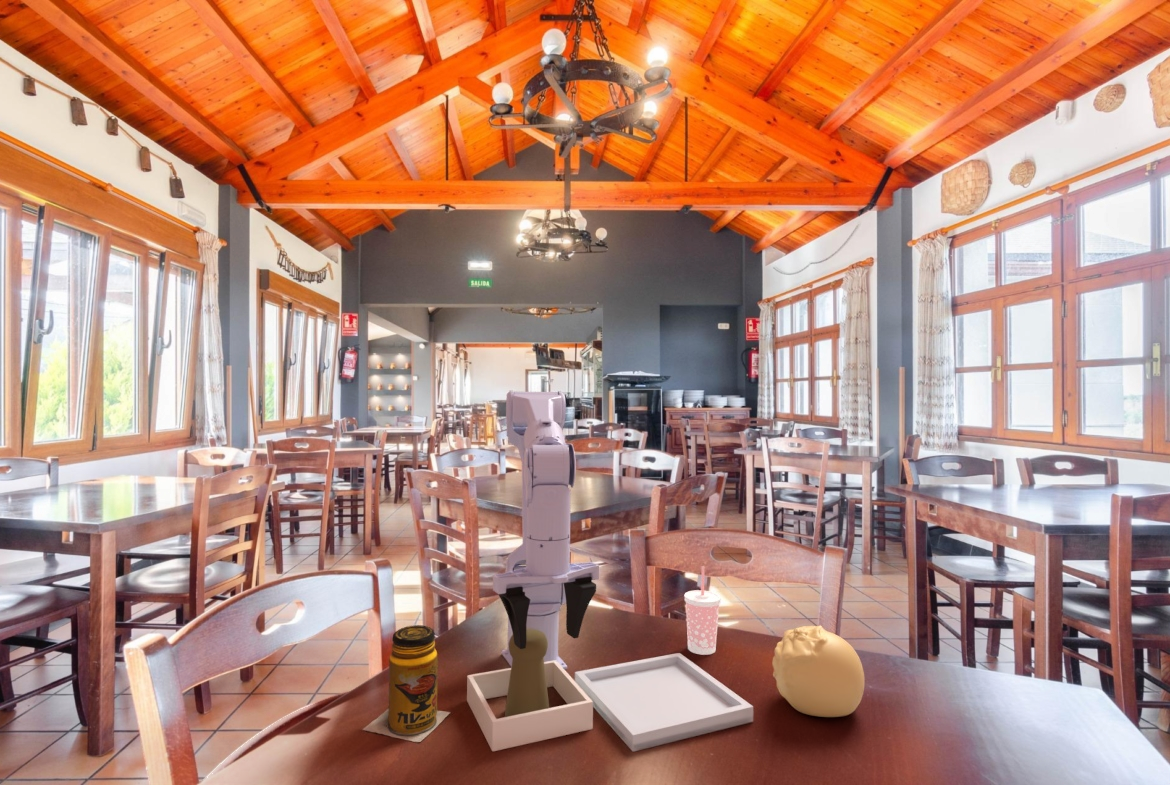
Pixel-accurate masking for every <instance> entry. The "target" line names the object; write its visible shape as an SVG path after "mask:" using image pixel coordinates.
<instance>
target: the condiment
mask: <svg viewBox="0 0 1170 785" xmlns="http://www.w3.org/2000/svg"><path fill="white" fill-rule="evenodd" d="M435 634H436V633H435V632H434V629H433V628H431V627H430V626H427V625H421V624H420V625H419V624H416V625H415V624H414V625H407V626H405V627H402V628H399V629H397V630H396V631H395V632H394V633H393V634H392V639H391V640H392V646H391V650H392V652H391V653H390V655H389V660H388V663H389V664H388V666H389V667H388V702H387V703H388V708H387V709H386V710H385V711H384V712H382V713H381V714H380V715H379V716H378V717H377V718H376V719H373V720H372V721H371V722H370V723H369V724H368V725H366V726H365V727H363V728H362V731H365V732H366V731H367V732H370V733H377V734H379V735H384V736H388V737H391V738H396V739H401V740H404V741H410V742H414V743H420V742H422V741H423V740H424V739H425V738H427V737H428V736H429V735H430V734H431V733H432V732H433V731H434V730H435V729H436V728H437V727H438V726H439V725H440V724H441V723H442V722H443V721H444V720H445V719H446V717H448V716H449V714H451V712H450V711H443V710H438V681H439V680H438V669H439V667H438V666H439V664H438V660H439V658H438V652H437V650H436V648H435V647H436V641H435V636H436V635H435Z"/></svg>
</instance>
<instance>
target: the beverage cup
mask: <svg viewBox="0 0 1170 785" xmlns="http://www.w3.org/2000/svg"><path fill="white" fill-rule="evenodd" d="M700 579H701V583H700V584H701V586H700V590H699V589H696V590H689V591H687V592H685V593H684V595H683V597H684V599H683V600H684V602H685V610H686V611H685V613H686V615H685V616H686V632H687V633H686V634H687V650H688V651H689V652H691V653H693V654H697V655H703V656H705V655H712V654H714V653H716V647H717V635H718V626H719V625H718V623H719V610H720V604H721V602H722V601H721V599H722V597H721V595H720V594H718V593H716V592H714V591H710V590H705V565H701V577H700Z"/></svg>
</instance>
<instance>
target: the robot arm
mask: <svg viewBox="0 0 1170 785" xmlns="http://www.w3.org/2000/svg"><path fill="white" fill-rule="evenodd" d="M505 400H506V402H505V404H506V406H505V421H506V422H505V424H506V437H507V438H508V440H507V441H508V443H509V444H510V445H513V446H514V447H516V448H517V449H518V453H519V457H520V462H521V510H522V514H521V515H522V516H521V518H522V519H521V521H522V525H521V526H522V528H521V529H522V543H521V544H520V545H519V546H518V547H517V548H515V549H514V550H513V551H511V552H510V553H509V554H508V555H507V558H506V559H505V572H503V573H498V574H494V575H492V591H493V592H495V593H496V594H498V596H499V598H500V600H501V602H502V605H503V607H504V609H505V611H506V614H507V645H506V646H507V648H506V649H503V650H501V655H502V656H503V657H504V659H505V660H506V662H507V663H508V664H509V666H510V668H511V667H512V660H513V658H512V656H511V655H510V651H509V641H510V638H511V636H512V635H513V637H514V644H515V645H516V646H517V647H518V648H520V649H524V648H526V629H536V630H539V631H541V632H543V633H544V634H545V636H546V638H547V641H548V648H547V652H546V655H545V656H544V657H543V658H544V662H548V661H553V660H556V661H557V662H558V663H559V664H560V665H561V666H562V667H563V669H564V670H567V669H568V665H567V664H566V662H564V660H563V659H562V658H561V657H560V656H559V624H560V623H559V615H560V613H559V612H561V610H562V608H561V606H564V605H565V604H566V611H565V612H566V617H565V619H566V620H565V626H566V634H567V635H568V636H570V637H571V638H573V639H578V638H579V637H580V632H581V627H582V625H583V620H584V617H585V614H586V611H587V609H588V607H589V604H590V602H591V601H592V600H593V597H594V596H595V595H596V592H597V584H596V583H595V582H593V581H598V580H599V579H600V565H599V564H597V563H595V562H593V561H590V562H588V561H587V562H573V563H572V562H571V508H572V507H571V506H572V504H571V503H572V502H571V497H572V496H571V495H572V493H571V491H572V490H571V489H572V488H574V486H575V485H574V484H575V480H576V477H577V476H576V475H577V461H576V453H575V448H574V445H573V443H566V439H565V436H564V427H565V426H564V425H565V423H566V413H567V412H566V411H567V407H566V406H567V404H566V396H565V394H564V393H563V391H561V390H560V391H559V390H558V391H519V390H518V391H515V390H509V392H507V393H506V399H505ZM569 486H570V487H569Z"/></svg>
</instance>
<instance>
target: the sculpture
mask: <svg viewBox="0 0 1170 785" xmlns="http://www.w3.org/2000/svg"><path fill="white" fill-rule="evenodd" d="M773 650H774V656H773V657H772V667H773V673H772V676H773V677H774V678H773V679H775V680H776V688H777V689H778V692H779V694H780V696H782V697H783V698H784V699H785V700H786V701H787V702H788V703H789V705H790V706H791V707H792V708H793V709H795V710H796V711H798V712H799V713H802V714H805V715H807V716H808V715H809V716H812V717H821V718H839V717H846V716H849V715H851V714H852V713H853V712H854V711H856V709H857V708H858V706H859V705H860V704H861V701H862V699H863V695H864V692H865V691H864V690H865V683H866V682H865V681H866V680H865V672H864V667H863V664H862V661H861V659H860V657H859V655H858V653H857V652H856V650H855V648H854V647H853V646H852V645H851V644H850V643H849V642H848V641H846V640H845V639H844V638H842V637H841V636H839V635H837V634H835V633H833V632H830V631H827V630H826V629H825V628H824V627H823V626H822V625H807V626H806V625H803V626H799V627H795V628H793V629H792V628H791V629H787V630H784V632H783V636H782V639H781V641H778V642H777V643H776V647H775V648H774V649H773Z"/></svg>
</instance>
